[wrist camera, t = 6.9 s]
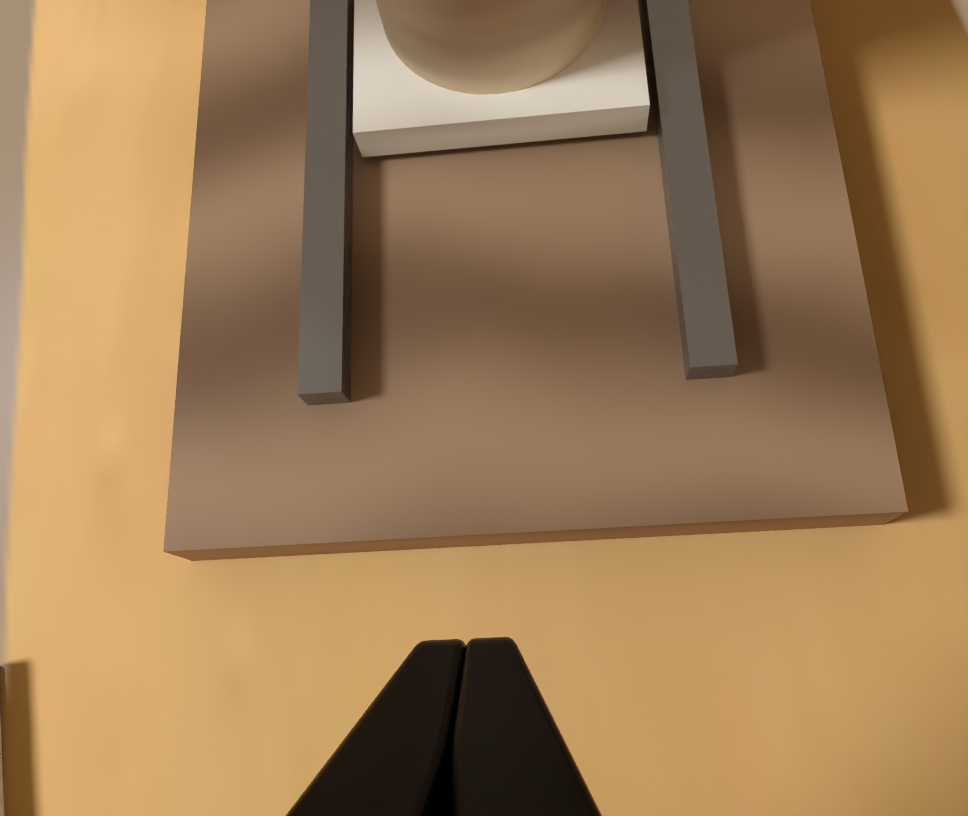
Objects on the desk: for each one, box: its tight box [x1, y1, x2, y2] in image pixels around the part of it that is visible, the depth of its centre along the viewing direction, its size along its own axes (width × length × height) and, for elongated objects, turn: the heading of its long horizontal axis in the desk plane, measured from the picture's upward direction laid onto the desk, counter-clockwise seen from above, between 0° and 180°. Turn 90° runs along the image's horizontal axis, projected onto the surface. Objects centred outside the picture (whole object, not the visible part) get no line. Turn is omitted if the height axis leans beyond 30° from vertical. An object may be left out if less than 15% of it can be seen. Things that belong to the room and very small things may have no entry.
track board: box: [164, 0, 908, 561], centre depth 23 cm, size 22×16×2 cm
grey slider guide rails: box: [297, 0, 738, 405], centre depth 21 cm, size 17×12×3 cm
